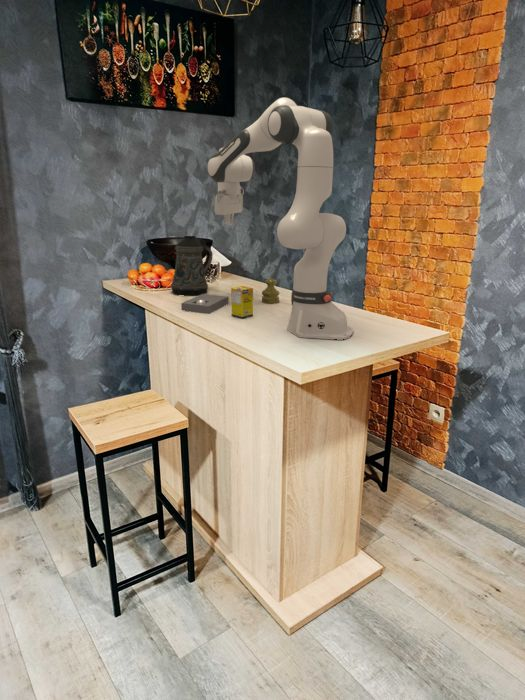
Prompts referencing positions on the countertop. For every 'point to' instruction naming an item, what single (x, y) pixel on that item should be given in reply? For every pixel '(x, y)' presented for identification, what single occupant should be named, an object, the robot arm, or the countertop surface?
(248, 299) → the supplement box
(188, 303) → the hole board
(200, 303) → the steel ball
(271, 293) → the olive tiered figure
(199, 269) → the beer stein
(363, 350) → the countertop surface
